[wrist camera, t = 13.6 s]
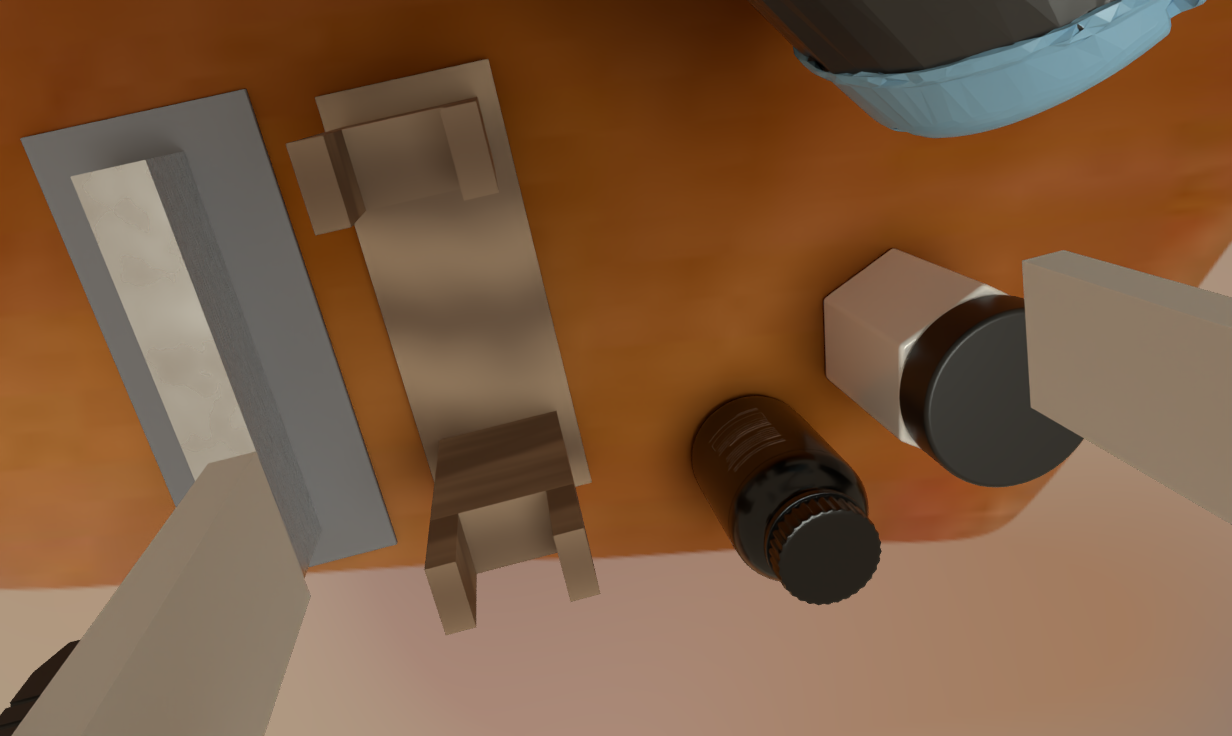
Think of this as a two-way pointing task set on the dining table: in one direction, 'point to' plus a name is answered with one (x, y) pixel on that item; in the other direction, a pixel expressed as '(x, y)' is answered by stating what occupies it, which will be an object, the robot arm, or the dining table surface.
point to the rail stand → (459, 319)
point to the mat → (265, 287)
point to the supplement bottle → (786, 499)
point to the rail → (193, 327)
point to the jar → (942, 369)
